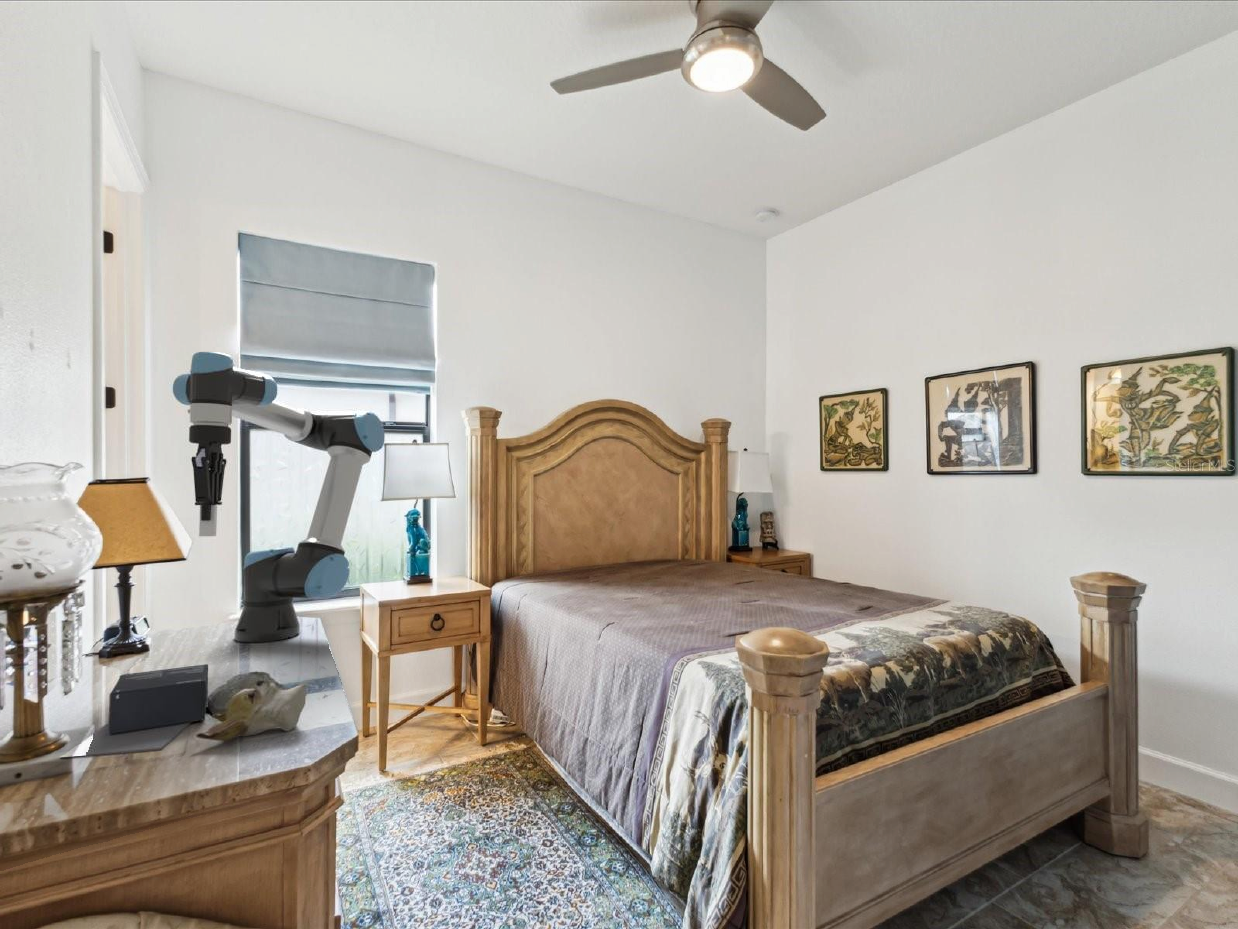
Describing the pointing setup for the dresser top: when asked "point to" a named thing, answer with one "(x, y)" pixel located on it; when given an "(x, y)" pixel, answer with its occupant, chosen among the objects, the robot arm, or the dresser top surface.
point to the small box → (158, 699)
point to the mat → (133, 739)
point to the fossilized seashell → (236, 689)
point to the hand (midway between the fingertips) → (207, 536)
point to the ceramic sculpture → (258, 711)
